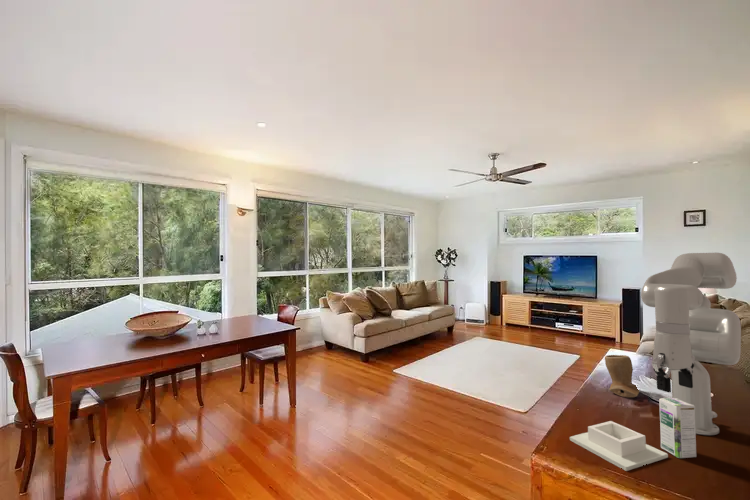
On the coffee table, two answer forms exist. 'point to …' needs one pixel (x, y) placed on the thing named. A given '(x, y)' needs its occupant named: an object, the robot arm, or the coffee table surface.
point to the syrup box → (677, 427)
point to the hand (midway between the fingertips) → (675, 388)
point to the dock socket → (618, 445)
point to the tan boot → (621, 375)
